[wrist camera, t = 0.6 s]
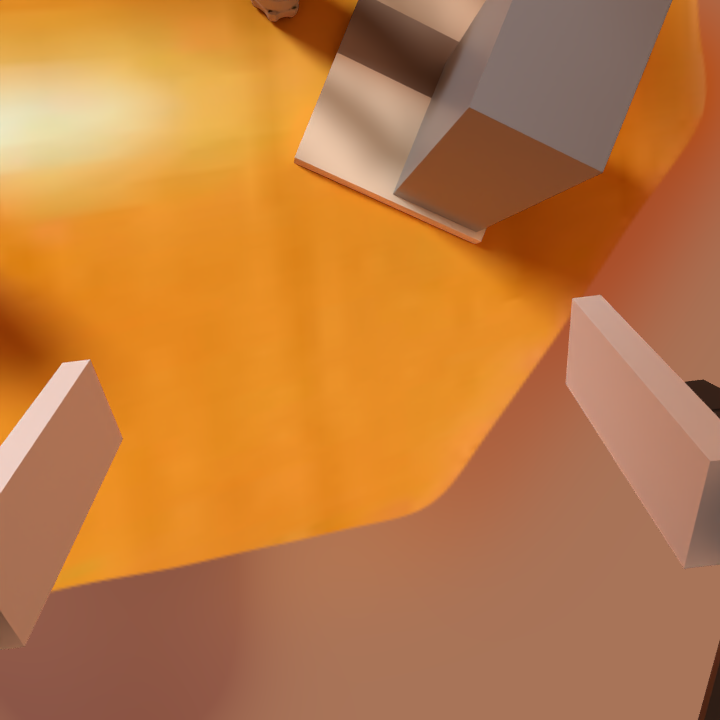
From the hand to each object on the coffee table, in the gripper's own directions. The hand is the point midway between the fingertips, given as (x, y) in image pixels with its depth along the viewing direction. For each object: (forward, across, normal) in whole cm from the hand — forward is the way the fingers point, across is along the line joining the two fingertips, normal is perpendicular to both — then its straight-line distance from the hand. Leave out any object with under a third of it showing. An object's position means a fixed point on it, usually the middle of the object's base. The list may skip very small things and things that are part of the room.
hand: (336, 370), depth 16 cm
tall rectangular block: (+25, +8, 0) cm, 27 cm away
